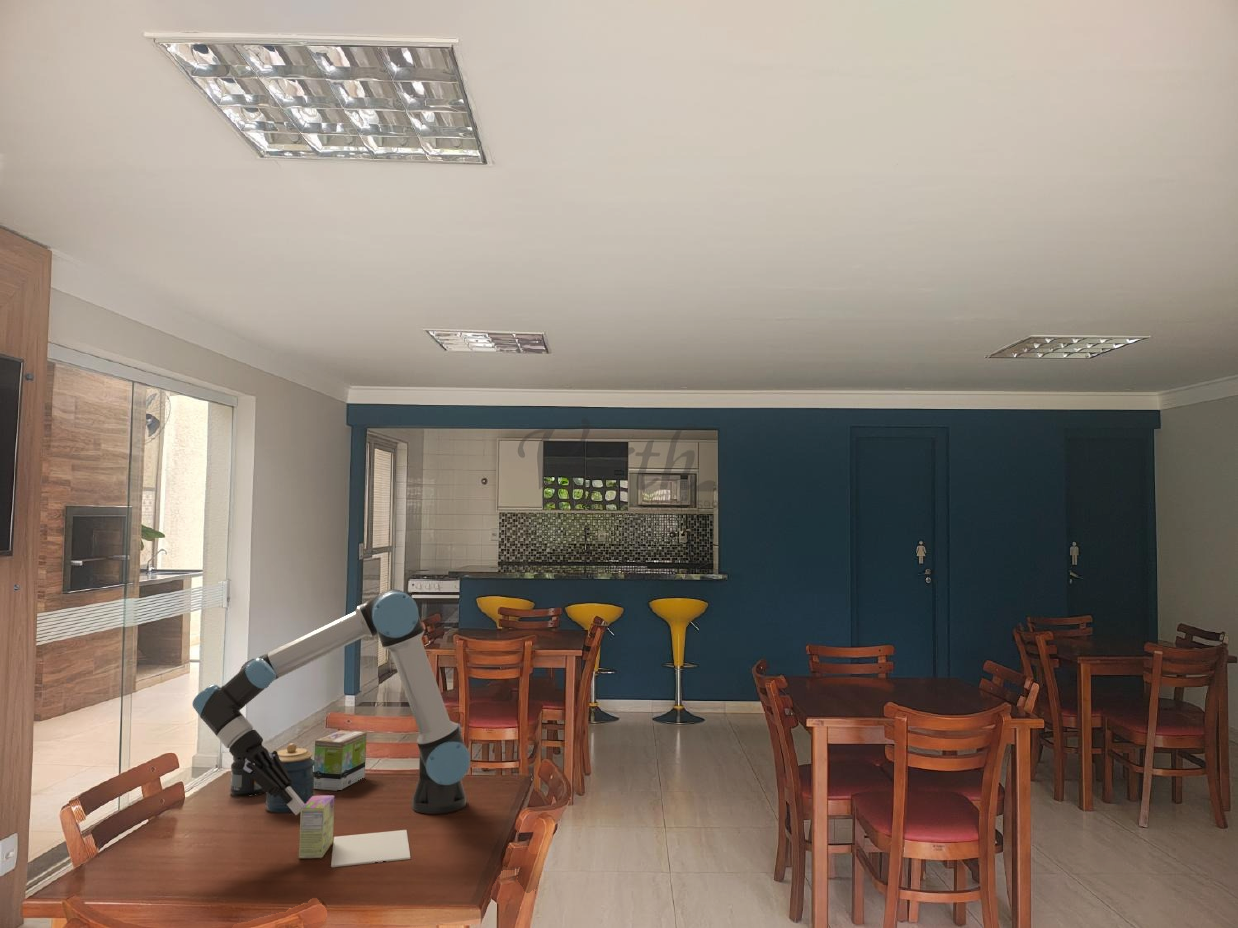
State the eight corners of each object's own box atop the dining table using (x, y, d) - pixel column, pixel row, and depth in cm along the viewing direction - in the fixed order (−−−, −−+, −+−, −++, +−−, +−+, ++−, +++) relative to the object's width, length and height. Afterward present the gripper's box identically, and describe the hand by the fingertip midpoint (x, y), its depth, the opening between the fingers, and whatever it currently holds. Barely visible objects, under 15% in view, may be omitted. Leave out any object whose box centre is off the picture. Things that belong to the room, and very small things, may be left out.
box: (309, 843, 213) (312, 794, 214) (332, 843, 214) (335, 794, 215) (297, 858, 203) (300, 807, 204) (322, 858, 203) (324, 807, 204)
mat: (406, 831, 222) (406, 829, 222) (410, 858, 203) (410, 857, 203) (334, 838, 217) (334, 836, 217) (331, 867, 198) (331, 865, 198)
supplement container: (275, 789, 259) (276, 749, 260) (247, 799, 249) (249, 757, 250) (250, 785, 263) (251, 746, 264) (221, 795, 254) (223, 753, 255)
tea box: (341, 791, 257) (343, 741, 259) (311, 789, 259) (313, 739, 261) (366, 777, 272) (367, 730, 273) (337, 775, 274) (338, 729, 275)
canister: (323, 804, 245) (325, 741, 246) (284, 816, 234) (286, 751, 235) (294, 796, 252) (296, 736, 253) (255, 808, 241) (257, 744, 242)
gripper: (246, 743, 220) (304, 812, 216) (215, 755, 207) (276, 829, 203) (265, 722, 219) (324, 791, 216) (235, 734, 207) (297, 808, 203)
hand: (301, 810), depth 209 cm, fingers closed
